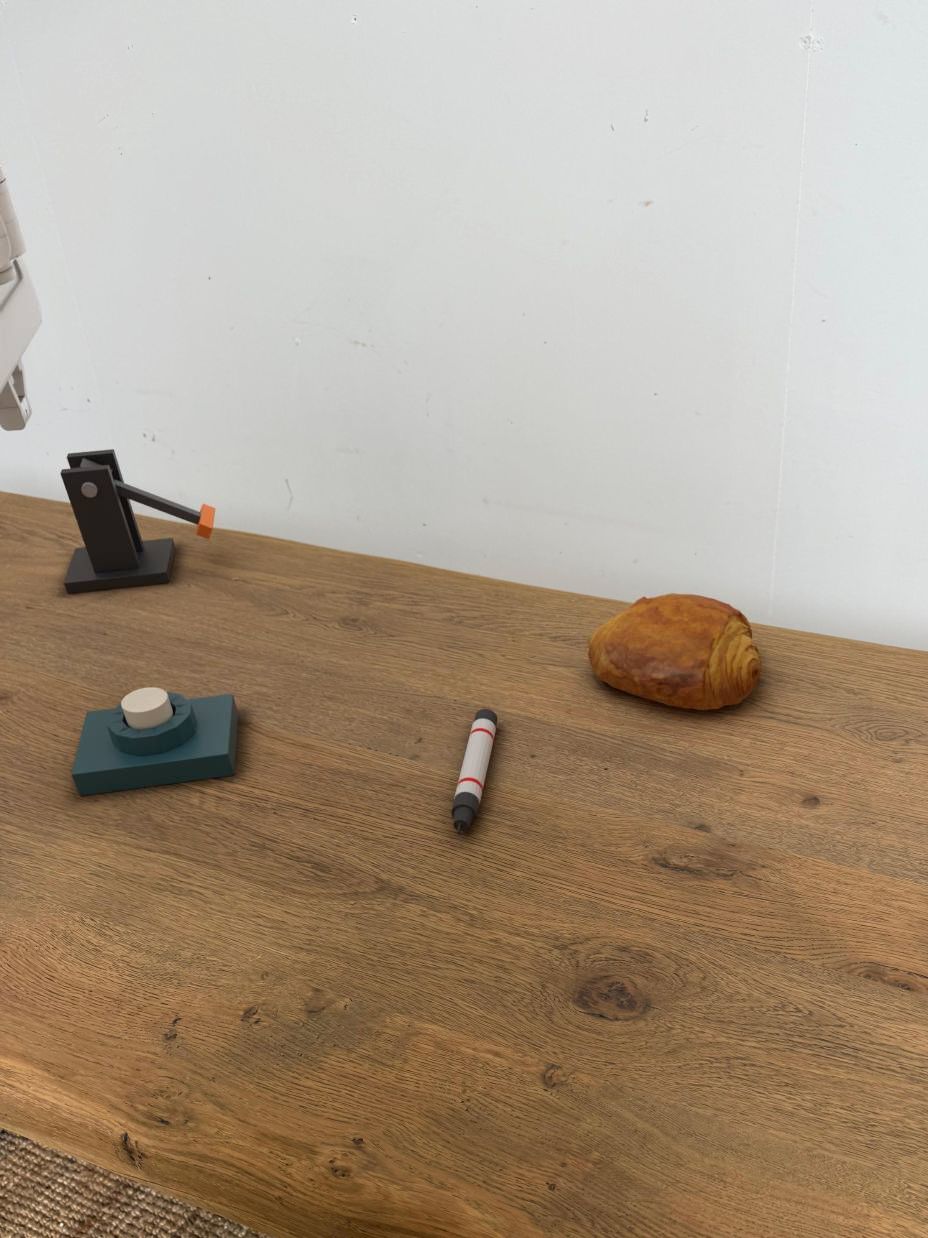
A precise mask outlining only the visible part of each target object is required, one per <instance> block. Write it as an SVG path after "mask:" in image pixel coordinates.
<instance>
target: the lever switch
mask: <svg viewBox="0 0 928 1238" xmlns="http://www.w3.org/2000/svg"><path fill="white" fill-rule="evenodd" d="M92 466H102V465H100V464H97V463H95V462H92V461H89V460H87V459H84V458H83V459H82V462H81V465H80V467H79V468H81V467H92ZM110 470H111V473H112V469H110ZM114 483H115V486H116V489H117V492H118V495H119V496H122V497H125V498H127V499H129V500H130V501H133V502H134V503H135V502H136V503H138V504H141V505H144V506H145V507H149V508H151V509H154V510H157V511H160V512H161V513H165V514H167V515H170V516H173V517H176V518H178V519H181V520H183V521H186V522H188V523H192V524H194V525H196V532H195V535H196V536H198V537H201V538H204V539H206V540H210V537H211V535H212V533H213V529H214V520H215V515H216V507H213V506H211V505H209V504H206V503H202V504H201V507H200V511H198V510H196V509H193V508H190V507H187V506H186V505H183V504H180V503H177V502H175V501H172V500H171V499H170V500H169V499H167V498H165V497H164V498H163V497H161V496H159V495H157V494H154V493H151V492H148V491H146V490H143V489H140V488H138V487H135V486H133V485H130V484H128V483H125V482H124V483H123V482H120V481H117V480H115V479H114Z"/></svg>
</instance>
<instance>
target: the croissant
mask: <svg viewBox="0 0 928 1238" xmlns="http://www.w3.org/2000/svg"><path fill="white" fill-rule="evenodd" d="M751 628H752V627H751V623H750V621H749V619H748V618H747V617H746V615H745V614H743V613H742V612H741V610H739V609H738V608H735V607H733V606H732V605H731V604H730V603H726V602H723V601H721V600H719V599H716V598H712V597H707V596H704V595H699V594H693V593H689V594H688V593H671V592H670V593H667V594H662V595H657V596H655V597H654V596H653V597H649V598H648V597H646V596H642V597H640V598H639V599H637V600H636V601H634V603H633V604H632V605H630V606H629V607H628V608H627V609H625V610H624V611H622V612H620V613H618V614H616V615H615V616H614V617H613V618H611V619H608V620H607V621H606V622H605V623H603V624H602V625H600V626H599V627H598V628H597V629H596V630H595V631H594V632H593V633H592V635H590V637H589V639H588V652H587V656H588V659H589V664H590V666H591V667H592V670H593V673H594V674H595V676H596V677H597V678H598V680H599V681H601V682H604V683H606V684H608V685H609V686H611V687H612V688H614V689H617V690H620V691H623V692H626V693H629V694H631V695H634V696H637V697H640V698H642V699H646V700H651V701H654V702H657V703H661V704H664V705H666V706H671V707H675V708H683V709H687V710H688V709H693V710H696V711H697V710H698V711H707V710H718V709H721V708H722V707H726V706H733V705H738V704H740V703H741V702H742V701H743V700H745V699H746V698H747V697H748V696H749V695H750V694H751V693H752V692H753V691H754V689H755V687H756V685H757V682H758V680H759V677H760V675H761V672H762V661H761V658H760V657H761V656H760V655H759V648H758V646H757V645H756V643H755V641H754V640H753V630H752V629H751Z"/></svg>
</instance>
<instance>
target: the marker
mask: <svg viewBox="0 0 928 1238" xmlns="http://www.w3.org/2000/svg"><path fill="white" fill-rule="evenodd" d="M497 725H498V715H497V714H496V712H494V711H493V710H492V709H489V708H480V709H479V710H478V711H477V712H476V713H475V714H474V719H473V722H472V725H471V729H470V733H469V736H468V740H467V746H466V749H465V753H464V757H463V761H462V765H461V769H460V772H459V773H460V774H459V777H458V781H457V784H456V785H457V786H456V789H455V794H454V798H453V804H452V807H451V817H452V819H453V823H452V824H453V828H454V830H456V833H457V835H458V836H461V833H463V832H467V831H468V830H469V828H470V825H471V824H472V823H473V822H475V820H476V819H477V814H478V810H479V807H480V804H481V799H482V794H483V791H484V790H483V789H484V786H485V782H486V776H487V772H488V768H489V763H490V759H491V758H490V757H491V754H492V749H493V744H494V740H495V736H496V731H497V729H496V727H497Z"/></svg>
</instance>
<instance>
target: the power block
mask: <svg viewBox="0 0 928 1238" xmlns="http://www.w3.org/2000/svg"><path fill="white" fill-rule="evenodd" d="M166 693H167V694H168V698H169V701H170V704H171V707H172V710H173V716H172V718H171V719H170V720H169V721H168V722H165V723H163V724H161V725H158V726H156V727H153V728H146V729H135V728H132V727H130V726H129V725H128V723H127V721H126V718H125V715H124V712H123V709H122V707H121V702H120V703H119V704H117V706H115V707H114V708H105V709H99V710H90V711H89V710H88V711H86V713H85V717H84V721H83V725H82V729H81V734H80V736H79V737H80V738H79V741H78V745H77V748H76V749H77V750H76V754H75V758H74V761H73V766H72V770H71V774H70V776H71V778H72V780H73V782H74V785H75V787H76V790H77V793H78V795H79V797H82V796H83V797H84V796H89V795H91V796H92V795H97V794H98V795H99V794H104V793H105V794H106V793H112V792H113V793H114V792H120V791H127V790H135V789H143V788H148V787H156V786H163V785H164V786H166V785H172V784H178V783H186V782H194V781H202V780H210V779H216V778H217V779H218V778H225V777H231V776H235V769H236V757H237V756H236V755H237V742H238V727H239V717H240V716H239V715H240V714H239V711H238V707H237V704H236V699H235V697H234V694H233V693H225V694H217V695H210V696H202V697H194V698H186V697H185V696H184V695H183V694H181V693H175V692H169V691H166Z"/></svg>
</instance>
